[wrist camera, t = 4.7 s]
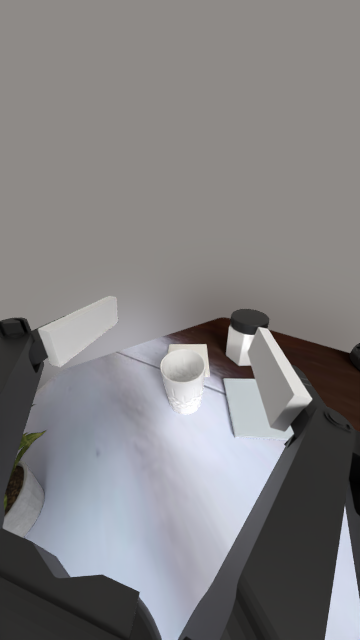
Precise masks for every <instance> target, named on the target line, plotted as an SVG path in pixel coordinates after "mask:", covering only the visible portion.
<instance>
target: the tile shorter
mask: <svg viewBox="0 0 360 640" xmlns="http://www.w3.org/2000/svg"><path fill="white" fill-rule="evenodd" d="M178 349H190V350H193V351H196V352H197V353H199V354H200V355H201V356H202V357H203V358H204V360H205V365H206V367H205V377H210V373H209V364H208V355H207V347H206V344H169V349H168V353H170V352H172V351H174V350H178Z"/></svg>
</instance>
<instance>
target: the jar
mask: <svg viewBox="0 0 360 640" xmlns="http://www.w3.org/2000/svg"><path fill="white" fill-rule="evenodd" d="M268 324H269V318H268V317H267V315H266V314H264V313H262V312H259V311H256V310H251V309H241V310H237V311H235V312H233V313H232V315H231V324H230V326H229V332H228V340H227V349H226V356H228V357H229V358H230V359H231V360H232V361H234V362H235V363H236V364H237V365H239V366H245V365H251V363H250V359H249V356H248V353H247V352H248V349H249V347H250V345H251V343H252V340H253V338H254V336H255V333H256V331H257V329H258V327H261V328H266V329H267V327H268Z"/></svg>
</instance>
